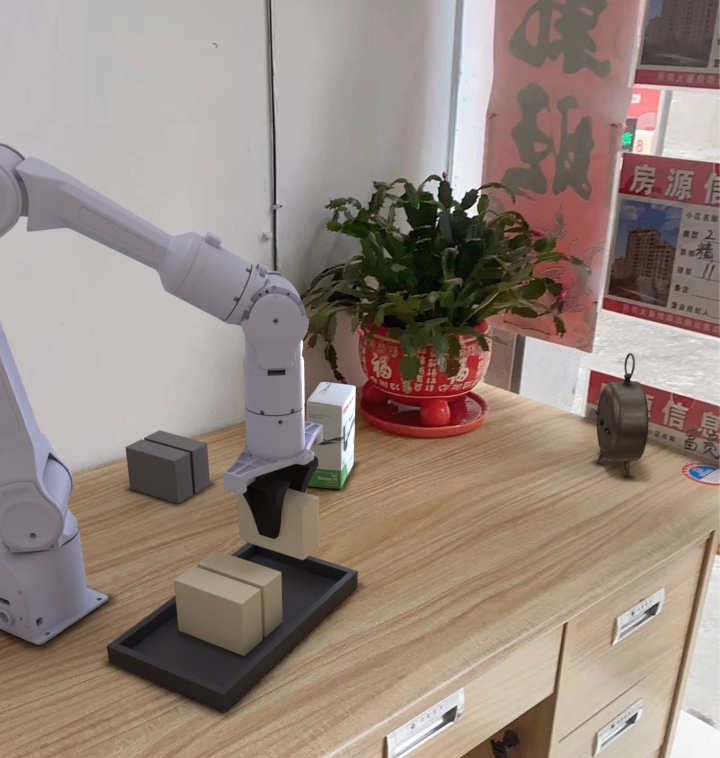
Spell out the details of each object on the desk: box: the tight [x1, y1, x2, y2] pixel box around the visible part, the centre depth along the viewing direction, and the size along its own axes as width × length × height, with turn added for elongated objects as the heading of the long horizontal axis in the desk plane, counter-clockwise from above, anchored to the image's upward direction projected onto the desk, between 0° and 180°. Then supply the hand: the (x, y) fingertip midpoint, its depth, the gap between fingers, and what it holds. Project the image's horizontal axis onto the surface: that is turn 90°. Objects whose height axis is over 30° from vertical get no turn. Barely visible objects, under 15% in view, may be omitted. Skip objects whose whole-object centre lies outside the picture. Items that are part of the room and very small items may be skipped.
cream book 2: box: [197, 550, 283, 637], centre depth 88 cm, size 3×8×6 cm, turn 60°
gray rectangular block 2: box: [143, 429, 211, 494], centre depth 116 cm, size 3×8×6 cm, turn 61°
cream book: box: [236, 488, 319, 560], centre depth 91 cm, size 3×8×6 cm, turn 61°
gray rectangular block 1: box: [125, 438, 194, 505], centre depth 113 cm, size 3×8×6 cm, turn 61°
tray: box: [106, 542, 359, 713], centre depth 89 cm, size 24×14×2 cm, turn 151°
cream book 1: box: [173, 565, 262, 656], centre depth 85 cm, size 3×8×6 cm, turn 61°
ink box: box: [305, 381, 356, 490], centre depth 117 cm, size 9×5×12 cm, turn 168°
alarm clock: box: [594, 352, 649, 478], centre depth 121 cm, size 11×5×16 cm, turn 179°
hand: (278, 528), depth 91 cm, fingers closed on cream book, 3 cm apart
